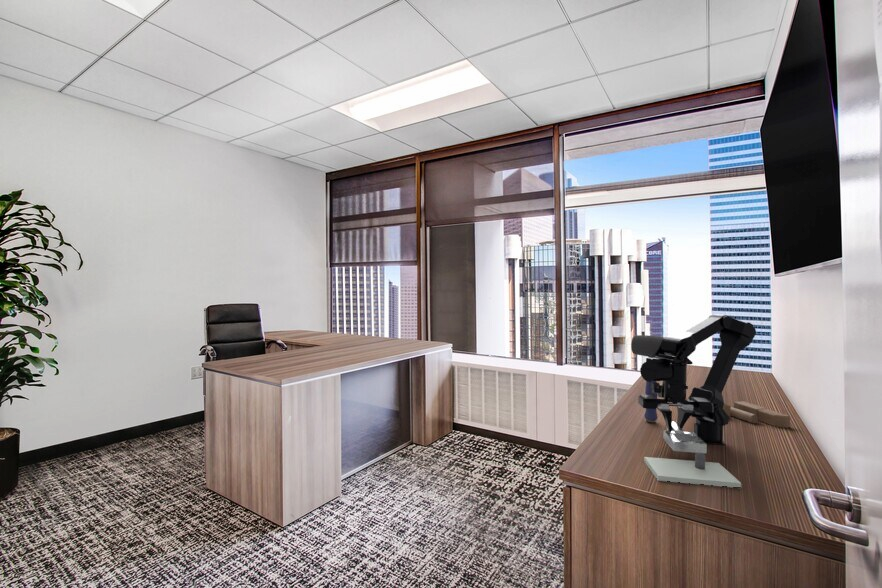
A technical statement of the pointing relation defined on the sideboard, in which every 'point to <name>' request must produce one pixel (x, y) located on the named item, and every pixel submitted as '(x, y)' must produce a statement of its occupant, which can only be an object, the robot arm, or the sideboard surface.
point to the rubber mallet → (648, 348)
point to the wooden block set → (757, 414)
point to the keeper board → (691, 471)
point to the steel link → (684, 440)
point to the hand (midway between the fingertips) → (674, 432)
